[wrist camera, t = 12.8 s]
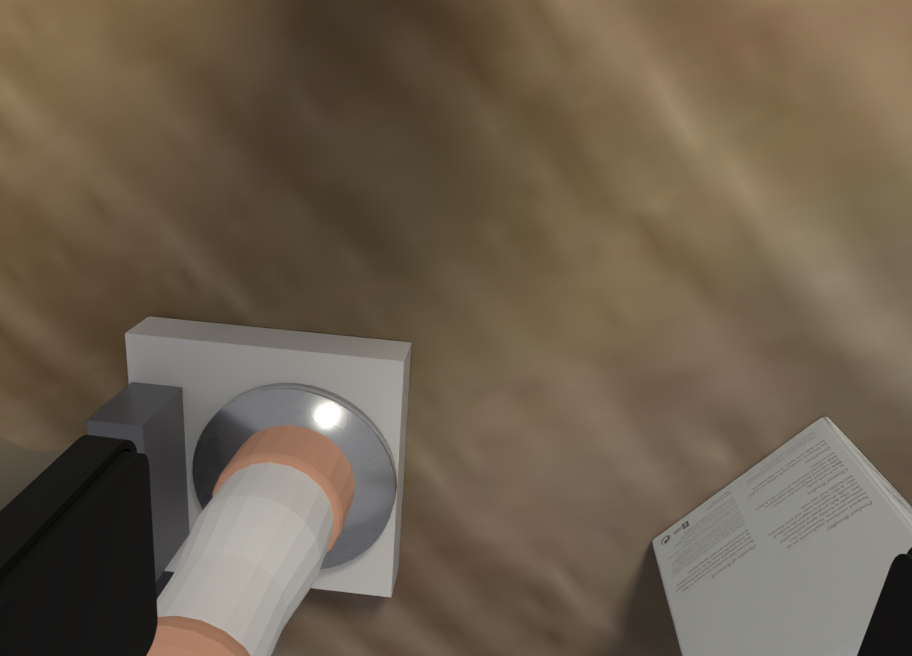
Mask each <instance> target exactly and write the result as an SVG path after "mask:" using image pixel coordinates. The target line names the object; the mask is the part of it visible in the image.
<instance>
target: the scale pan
mask: <svg viewBox="0 0 912 656" xmlns="http://www.w3.org/2000/svg"><path fill="white" fill-rule="evenodd" d="M282 425H293V426H299V427H304V428H309V429H311V430H313V431H315V432H317V433H319V434H321V435H323V436H325V437H327V438H328V439H330V440H331V441H332V442H333V443H334V444H335V445H336V446H337V447H338V448H340V449H341V450H342V452H343V453H344V455H345V457H346V458H347V460H348V462H349V463H350V465H351V467H352V471H353V476H354V480H355V491H354V498H353V502H352V505H351V508H350V510H349V513H348V515H347V518H346V521H345V523H344V526H343V529H342V531H341V534H340V535H339V537H338V539H337V541H336V543H335V544H334V546H333V548H332V549H331V550H330V551H329V552H328V553H326V554H325V556H324V559H323V562H322V565H321V568H320V569H326V568H331V567H335V566H338V565H341V564H344V563H346V562H348V561H350V560H352V559H354V558H356V557H357V556H359V555H361V554H362V553H363V552H365V551H366V550H367V549H368V548H370V547H371V546H372V545H373V544H374V542H375V541H376V540H377V539H378V538H379V537H380V535H381V534H382V532H383V531H384V529H385V527H386V525H387V523H388V521H389V519H390V516H391V512H392V509H393V506H394V502H395V499H396V492H397V472H396V466H395V461H394V458H393V455H392V452H391V449H390V447H389V445H388V443H387V441H386V439H385V438H384V436H383V434H382V433H381V431H380V430H379V428H378V427H377V426H376V425H375V424H374V422H373V421H372V420H371V419H370V418H369V417H368V416H367V415H366V414H365V413H364V412H363V411H362V410H360V409H359V408H358V407H356V406H355V405H354V404H352V403H351V402H350V401H348V400H346V399H344V398H342V397H341V396H339V395H337V394H335V393H332V392H330V391H327V390H325V389H322V388H318V387H315V386H311V385H305V384H299V383H275V384H268V385H263V386H259V387H256V388H253V389H250V390H247V391H245V392H243V393H241V394H240V395H238V396H236V397H234V398H233V399H232V400H230V401H229V402H227V403H226V404H225V405H224V406H223V407H222V408H221V409H220V410H219V411H218V412H217V413H216V414H215V415H214V416H213V418H212V419H211V420H210V421H209V423H208V424H207V425H206V427H205V428H204V430H203V432H202V433H201V435H200V437H199V439H198V442H197V445H196V448H195V451H194V457H193V470H192V474H193V482H194V487H195V491H196V495H197V498H198V500H199V503H200V505H201V508H202V509H203V510H204V508H205V507H206V506H207V504H208V503H209V502H210V500H211V499H212V494H213V489H214V487H215V485H216V483H217V481H218V479H219V476H220V475H221V473H222V472H223V470H224V469H225V468H226V466H227V465H228V463H229V462H230V461H231V459H232V458H233V456H234V455H235V454H236V452H237V451H238V450H239V448H240V447H241V446H242V445H243V444H244V443H245V442H246V441H247V440H248V439H249V438H250V437H251V436H252V435H253V434H255V433H257V432H259V431H262V430H264V429H266V428H268V427H273V426H282Z"/></svg>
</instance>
